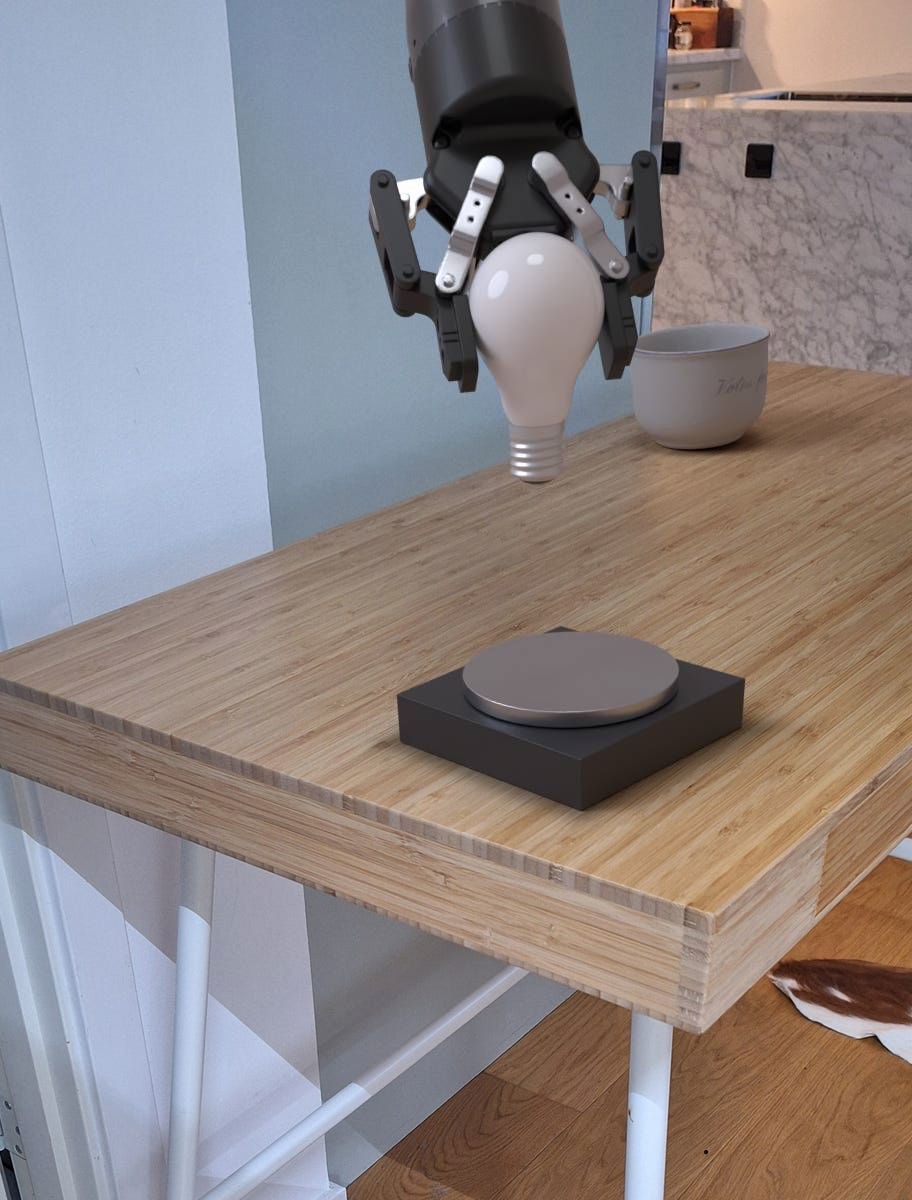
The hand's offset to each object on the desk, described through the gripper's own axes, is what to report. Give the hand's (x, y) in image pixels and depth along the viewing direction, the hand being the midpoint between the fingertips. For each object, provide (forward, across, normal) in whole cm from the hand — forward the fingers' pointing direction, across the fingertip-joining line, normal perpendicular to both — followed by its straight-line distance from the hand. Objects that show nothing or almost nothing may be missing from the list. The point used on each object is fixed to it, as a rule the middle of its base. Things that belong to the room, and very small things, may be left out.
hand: (544, 374), depth 68 cm
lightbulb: (+3, 0, +5) cm, 6 cm away
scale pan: (+13, 0, +5) cm, 14 cm away
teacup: (-24, +24, +46) cm, 57 cm away
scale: (+15, 0, +7) cm, 16 cm away
